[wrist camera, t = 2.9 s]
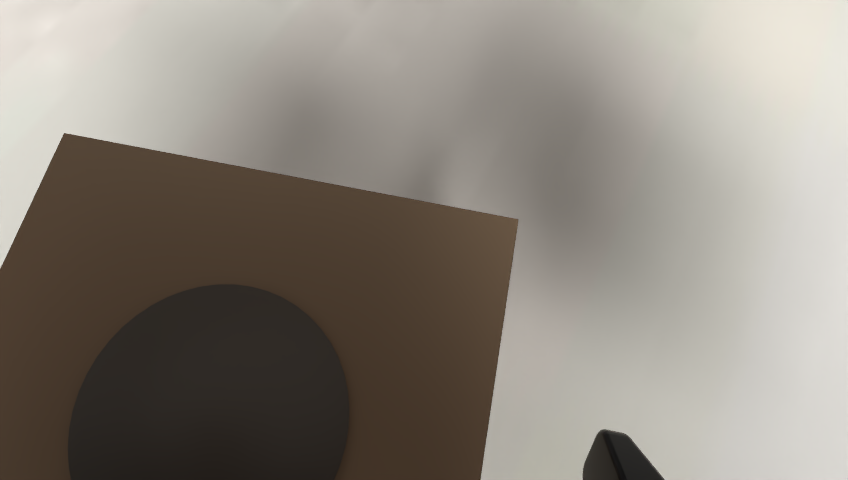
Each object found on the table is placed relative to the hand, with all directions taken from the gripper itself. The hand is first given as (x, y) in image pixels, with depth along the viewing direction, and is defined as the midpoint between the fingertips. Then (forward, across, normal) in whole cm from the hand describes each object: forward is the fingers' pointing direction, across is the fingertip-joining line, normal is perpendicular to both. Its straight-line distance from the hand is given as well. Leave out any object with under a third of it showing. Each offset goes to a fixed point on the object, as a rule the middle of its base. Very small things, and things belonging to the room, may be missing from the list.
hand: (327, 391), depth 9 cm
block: (+6, 0, +6) cm, 8 cm away
